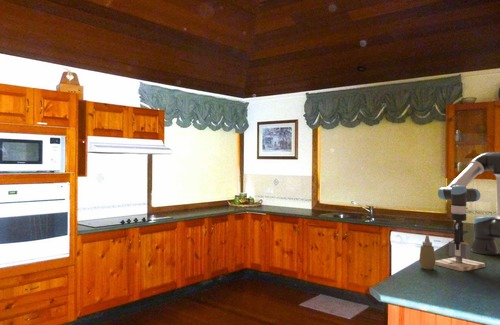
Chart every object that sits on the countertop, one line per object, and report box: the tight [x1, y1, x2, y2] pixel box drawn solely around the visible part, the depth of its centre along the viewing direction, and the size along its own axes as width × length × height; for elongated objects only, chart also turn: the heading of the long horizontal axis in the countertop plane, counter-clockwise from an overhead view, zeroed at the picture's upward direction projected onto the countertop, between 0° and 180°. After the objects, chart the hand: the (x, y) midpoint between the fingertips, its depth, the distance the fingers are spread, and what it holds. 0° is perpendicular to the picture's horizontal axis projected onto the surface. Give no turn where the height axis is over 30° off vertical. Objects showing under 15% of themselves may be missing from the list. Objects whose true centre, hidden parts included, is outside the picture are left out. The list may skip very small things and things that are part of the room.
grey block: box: [448, 240, 471, 260], centre depth 221 cm, size 10×4×8 cm, turn 29°
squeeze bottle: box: [418, 234, 436, 271], centre depth 215 cm, size 8×8×18 cm
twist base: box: [434, 257, 486, 272], centre depth 221 cm, size 20×17×4 cm
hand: (458, 254), depth 221 cm, fingers closed on grey block, 5 cm apart
